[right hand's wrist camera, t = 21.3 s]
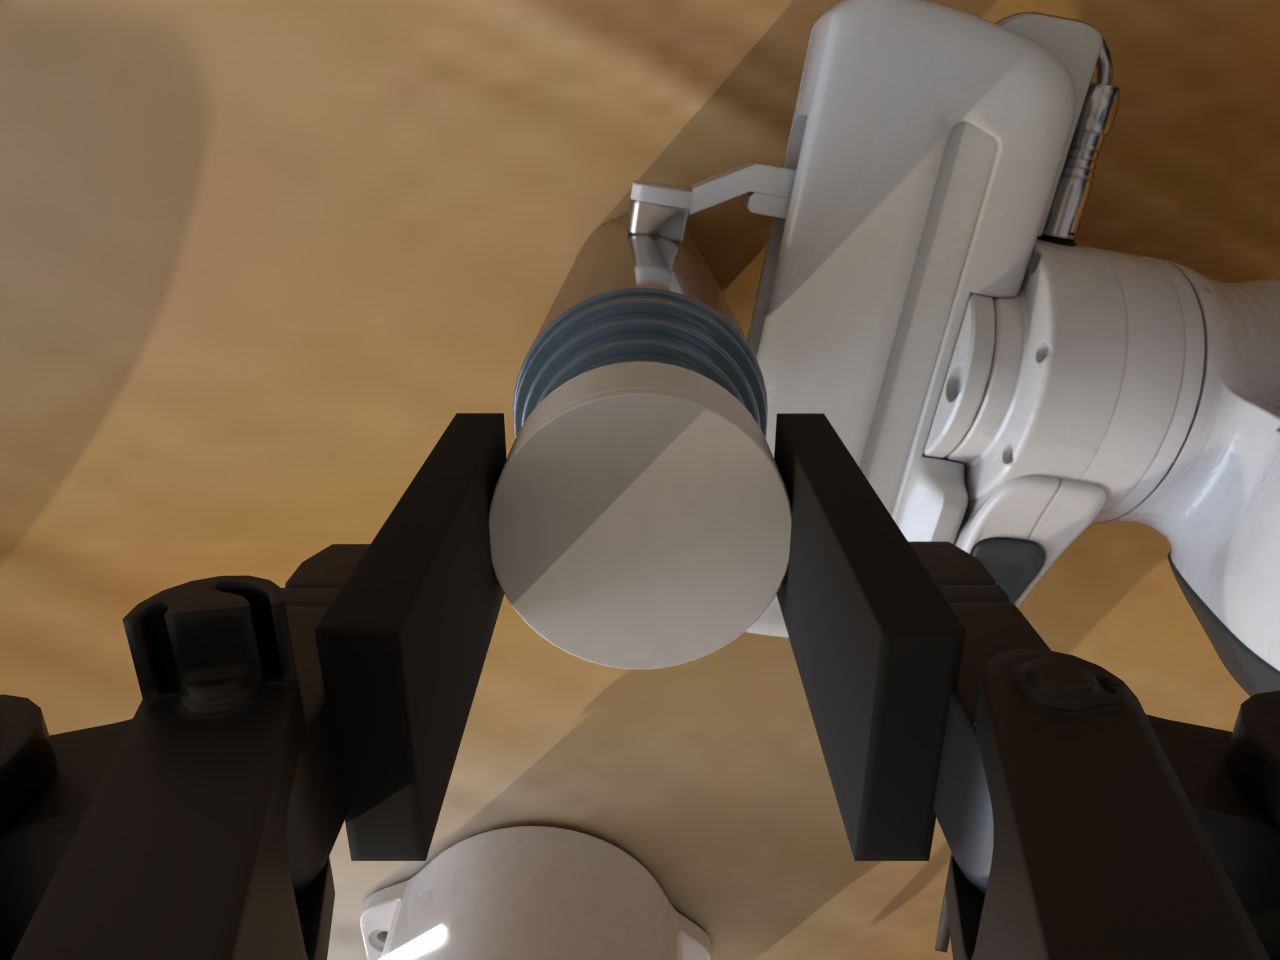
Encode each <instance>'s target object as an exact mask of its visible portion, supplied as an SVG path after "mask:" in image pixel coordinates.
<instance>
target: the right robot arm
mask: <svg viewBox="0 0 1280 960" xmlns="http://www.w3.org/2000/svg"><path fill="white" fill-rule="evenodd" d="M506 460H507V459H506V443H505V426H504V413H457V414H456V415H455V417H454V418H453V420H452V421H451V423H450V424H449V426H448V427H447V429H446V430H445V432H444V433H443V435H442V437H441V438H440V440H439V441H438V443H437V444H436V446H435V447H434V449H433V450H432V452H431V453H430V455H429V456H428V458H427V459H426V461H425V462H424V464H423V465H422V467H421V469H420V470H419V472H418V473H417V475H416V476H415V478H414V479H413V481H412V482H411V484H410V485H409V487H408V488H407V490H406V491H405V493H404V494H403V496H402V497H401V499H400V501H399V502H398V504H397V505H396V507H395V508H394V510H393V511H392V513H391V514H390V516H389V517H388V519H387V520H386V522H385V523H384V525H383V526H382V528H381V529H380V531H379V533H378V534H377V536H376V537H375V539H374V540H373V542H372V543H371V544H332V545H330V546H329V547H327V548H325V549H324V550H322V551H321V552H319V553H317V554H316V555H314V556H312V557H311V558H309V559H307V560H306V561H304V562H302V563H301V565H300V566H299V567H298V568H297V570H296V571H295V572H294V574H293V575H292V576H291V577H290V579H289V580H288V581H287V582H286V584H285V585H286V586H285V588H280V587H279V586H277V585H276V584H275V583H273V582H272V581H271V580H267V579H262V578H257V577H253V576H218V577H213V578H207V579H201V580H195V581H190V582H187V583H184V584H181V585H178V586H176V587H173V588H170V589H167V590H164V591H161V592H159V593H157V594H156V595H154V596H152V597H150V598H148V599H146V600H145V601H143V602H141V603H139V604H138V605H137V606H136V607H135V608H134V609H132V610H131V611H130V612H129V613H128V614H127V615H126V616H125V617H124V618H123V623H124V627H125V631H126V635H127V638H128V642H129V646H130V650H131V654H132V658H133V662H134V666H135V670H136V674H137V678H138V682H139V686H140V690H141V693H142V697H143V700H142V702H141V704H140V706H139V708H138V710H137V712H136V714H135V716H134V718H133V719H130V720H126V721H122V722H118V723H114V724H108V725H103V726H98V727H93V728H87V729H82V730H77V731H72V732H66V733H61V734H56V735H51V736H49V734H48V730H47V727H46V724H45V721H44V717H43V714H42V711H41V708H40V707H38V706H37V705H36V704H35V703H33V702H32V701H31V700H29V699H28V698H23V697H16V696H10V695H0V960H327V955H328V946H329V938H330V930H331V922H332V914H333V906H334V898H335V890H334V883H333V876H332V870H331V864H330V859H329V855H330V853H331V850H332V848H333V846H334V843H335V841H336V839H337V836H338V834H339V832H340V829H341V827H342V825H343V822H344V820H345V823H346V829H347V835H348V841H349V848H350V854H351V860H352V861H426V858H427V855H428V851H429V848H430V844H431V841H432V838H433V834H434V831H435V827H436V824H437V821H438V817H439V814H440V810H441V807H442V804H443V800H444V797H445V793H446V790H447V787H448V783H449V780H450V776H451V773H452V770H453V766H454V763H455V760H456V756H457V753H458V749H459V746H460V743H461V739H462V736H463V732H464V729H465V726H466V722H467V719H468V715H469V712H470V709H471V705H472V702H473V698H474V695H475V692H476V688H477V685H478V681H479V678H480V675H481V671H482V668H483V664H484V661H485V658H486V654H487V651H488V648H489V644H490V641H491V637H492V634H493V631H494V627H495V624H496V620H497V617H498V614H499V610H500V607H501V603H502V600H503V597H504V592H503V590H502V588H501V586H500V583H499V581H498V579H497V577H496V574H495V571H494V568H493V564H492V557H491V545H490V530H489V511H490V504H491V501H492V497H493V494H494V490H495V487H496V485H497V482H498V480H499V477H500V475H501V472H502V470H503V467H504V465H505V463H506ZM774 460H775V462H776V465H777V467H778V469H779V472H780V474H781V477H782V479H783V482H784V484H785V487H786V490H787V494H788V497H789V500H790V505H791V511H792V524H791V538H790V552H789V564H788V568H787V572H786V574H785V577H784V579H783V581H782V584H781V586H780V588H779V590H778V592H777V593H776V595H777V598H778V602H779V605H780V608H781V612H782V615H783V619H784V622H785V625H786V629H787V632H788V636H789V639H790V642H791V646H792V649H793V653H794V656H795V659H796V663H797V666H798V669H799V673H800V676H801V680H802V683H803V686H804V690H805V693H806V697H807V700H808V703H809V707H810V710H811V714H812V717H813V720H814V724H815V727H816V731H817V734H818V737H819V741H820V744H821V747H822V751H823V754H824V758H825V761H826V764H827V768H828V771H829V775H830V778H831V781H832V785H833V788H834V792H835V795H836V798H837V802H838V805H839V809H840V812H841V815H842V819H843V822H844V825H845V829H846V832H847V836H848V839H849V842H850V846H851V849H852V853H853V856H854V859H855V861H929V857H930V851H931V845H932V839H933V833H934V826H935V820H936V817H937V819H938V821H939V824H940V826H941V828H942V830H943V833H944V835H945V837H946V840H947V842H948V844H949V847H950V849H951V851H952V853H951V859H950V864H949V870H948V876H947V882H946V887H945V893H944V899H943V905H942V911H941V916H940V922H939V928H938V934H937V941H936V948H935V950H936V951H941V952H947V949H948V944H949V939H950V936H951V944H952V952H953V960H1280V691H1272V692H1266V693H1259V694H1254V695H1253V696H1251V697H1250V698H1249V699H1247V700H1246V701H1245V702H1244V703H1242V704H1241V707H1240V710H1239V713H1238V717H1237V720H1236V723H1235V726H1234V730H1233V732H1230V731H1225V730H1219V729H1214V728H1209V727H1203V726H1198V725H1193V724H1188V723H1182V722H1177V721H1172V720H1167V719H1162V718H1158V717H1154V716H1150V715H1146V714H1145V712H1144V710H1143V708H1142V706H1141V704H1140V702H1139V700H1138V698H1137V697H1136V696H1135V695H1134V693H1133V692H1132V691H1131V690H1130V689H1129V687H1128V686H1127V685H1126V684H1125V683H1124V681H1122V680H1121V679H1119V678H1118V677H1116V676H1114V675H1113V674H1111V673H1110V672H1108V671H1107V670H1105V669H1104V668H1102V667H1101V666H1098V665H1096V664H1093V663H1091V662H1088V661H1086V660H1083V659H1081V658H1078V657H1075V656H1073V655H1068V654H1063V653H1059V652H1054V651H1051V650H1050V648H1049V647H1048V646H1047V645H1046V643H1045V642H1044V641H1043V640H1042V638H1041V637H1040V636H1039V635H1038V633H1037V632H1036V631H1035V630H1034V628H1033V627H1032V626H1031V624H1030V623H1029V622H1028V621H1027V619H1026V618H1025V617H1024V616H1023V614H1022V613H1021V612H1020V611H1019V609H1018V608H1017V607H1016V606H1015V604H1014V603H1010V598H1009V597H1008V596H1007V594H1006V593H1005V592H1004V591H1003V589H1002V588H1001V587H1000V586H999V585H996V580H995V579H994V578H993V577H992V575H991V574H990V573H989V572H988V570H987V569H986V568H985V567H984V565H983V564H982V563H981V562H980V560H979V559H977V558H975V557H974V556H972V555H970V554H969V553H967V552H965V551H964V550H962V549H960V548H959V547H957V546H955V545H954V544H952V543H950V542H949V541H907V539H906V538H905V536H904V535H903V533H902V532H901V530H900V529H899V527H898V526H897V524H896V522H895V521H894V519H893V518H892V516H891V515H890V513H889V512H888V510H887V509H886V507H885V506H884V504H883V503H882V501H881V500H880V498H879V497H878V495H877V494H876V492H875V491H874V489H873V487H872V486H871V484H870V483H869V481H868V480H867V478H866V477H865V475H864V474H863V472H862V471H861V469H860V468H859V466H858V465H857V463H856V462H855V460H854V459H853V457H852V455H851V454H850V452H849V451H848V449H847V448H846V446H845V445H844V443H843V442H842V440H841V439H840V437H839V436H838V434H837V433H836V431H835V430H834V428H833V427H832V425H831V423H830V422H829V420H828V419H827V417H826V416H825V414H824V413H777V419H776V435H775V451H774Z"/></svg>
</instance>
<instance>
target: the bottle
mask: <svg viewBox="0 0 1280 960" xmlns="http://www.w3.org/2000/svg"><path fill="white" fill-rule="evenodd" d="M627 220H628V214H627V215H623V216H620V217H617V218H615V219H612V220H610V221H608V222H607V223H605V224H603V225H602V226H601V227H599V228H598V229H597V230H596V231H595V232H594V233H593V234H592V235H591V236H590V237H589V238H588V239H587V241H586V242H585V244H584V245H583V247H582V249H581V251H580V252H579V254H578V256H577V258H576V260H575V262H574V264H573V266H572V268H571V270H570V272H569V274H568V276H567V278H566V280H565V282H564V284H563V285H562V287H561V289H560V291H559V293H558V295H557V297H556V299H555V301H554V303H553V305H552V307H551V309H550V311H549V313H548V315H547V316H546V318H545V320H544V322H543V324H542V326H541V328H540V330H539V332H538V334H537V336H536V338H535V340H534V342H533V344H532V346H531V348H530V349H529V351H528V353H527V355H526V357H525V359H524V361H523V364H522V367H521V369H520V372H519V375H518V378H517V383H516V387H515V391H514V403H513V416H514V435H515V439H516V437H517V434H518V432H519V430H520V429H521V427H522V425H523V424H524V422H525V421H526V419H527V417H528V416H529V415H530V414H531V412H532V411H533V410H534V409H535V408H536V407H537V405H538V404H539V403H540V402H541V401H542V400H543V399H544V398H546V397H547V396H548V395H549V394H550V393H551V392H552V391H554V390H555V389H557V388H558V387H559V386H561V385H562V384H564V383H565V382H567V381H568V380H570V379H572V378H574V377H576V376H578V375H580V374H582V373H585V372H587V371H590V370H593V369H596V368H599V367H602V366H607V365H611V364H616V363H623V362H635V361H643V362H659V363H664V364H670V365H675V366H679V367H682V368H685V369H688V370H691V371H694V372H696V373H698V374H700V375H703V376H705V377H707V378H709V379H711V380H712V381H714V382H715V383H717V384H719V385H720V386H722V387H723V388H725V389H726V390H727V391H728V392H730V393H731V394H732V395H733V396H734V397H736V398H737V399H738V400H739V401H740V402H741V403H742V404H743V406H744V407H745V408H746V409H747V410H748V411H749V412H750V413H751V415H752V416H753V418H754V419H755V421H756V422H757V424H758V425H759V427H760V428H761V431H762V433H763V435H764V437H765V439H766V435H767V417H768V402H767V391H766V387H765V382H764V377H763V375H762V372H761V369H760V366H759V364H758V361H757V359H756V357H755V355H754V353H753V351H752V349H751V347H750V346H749V344H748V342H747V340H746V338H745V336H744V334H743V332H742V330H741V328H740V326H739V324H738V322H737V320H736V318H735V316H734V314H733V312H732V311H731V309H730V307H729V305H728V303H727V301H726V299H725V297H724V295H723V293H722V291H721V289H720V287H719V285H718V283H717V281H716V279H715V277H714V276H713V274H712V272H711V270H710V268H709V266H708V264H707V262H706V260H705V258H704V256H703V254H702V252H701V250H700V248H699V247H698V245H697V243H696V242H695V241H694V239H693V238H692V237H691V236H690V235H689V233H688V232H687V231H686V230H685V234H684V239H683V242H682V241H675V240H670V239H666V238H663V237H660V236H659V235H658V234H657V233H656V232H654V233H652V234H650V235H638V234H634V233H629V232H627V231H626V228H627Z"/></svg>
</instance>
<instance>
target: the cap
mask: <svg viewBox="0 0 1280 960" xmlns="http://www.w3.org/2000/svg"><path fill="white" fill-rule="evenodd" d="M791 524H792V511H791V505H790V500H789V497H788V494H787V490H786V487H785V484H784V482H783V479H782V477H781V474H780V472H779V469H778V467H777V465H776V462H775V460H774V457H773V455H772V453H771V450H770V448H769V445H768V443H767V441H766V439H765V437H764V435H763V433H762V431H761V428H760V427H759V425H758V424H757V422H756V421H755V419H754V418H753V416H752V415H751V413H750V412H749V411H748V410H747V409H746V408H745V407H744V406H743V404H742V403H741V402H740V401H739V400H738V399H737V398H736V397H734V396H733V395H732V394H731V393H730V392H728V391H727V390H726V389H725V388H723V387H722V386H720V385H719V384H717V383H715V382H714V381H712V380H711V379H709V378H707V377H705V376H703V375H700V374H698V373H696V372H694V371H691V370H688V369H685V368H682V367H679V366H675V365H670V364H664V363H659V362H643V361H635V362H623V363H616V364H611V365H607V366H602V367H599V368H596V369H593V370H590V371H587V372H585V373H582V374H580V375H578V376H576V377H574V378H572V379H570V380H568V381H567V382H565V383H564V384H562V385H561V386H559V387H558V388H557V389H555V390H554V391H552V392H551V393H550V394H549V395H548V396H547V397H546V398H544V399H543V400H542V401H541V402H540V403H539V404H538V405H537V407H536V408H535V409H534V410H533V411H532V412H531V414H530V415H529V416H528V417H527V419H526V421H525V422H524V424H523V425H522V427H521V429H520V430H519V432H518V434H517V437H516V439H515V441H514V443H513V446H512V448H511V450H510V453H509V455H508V458H507V460H506V463H505V465H504V467H503V470H502V472H501V475H500V477H499V480H498V482H497V485H496V487H495V490H494V494H493V497H492V501H491V504H490V511H489V530H490V545H491V557H492V564H493V568H494V571H495V574H496V577H497V579H498V581H499V583H500V586H501V588H502V590H503V592H504V594H505V595H506V597H507V598H508V600H509V602H510V603H511V605H512V606H513V608H514V609H515V610H516V611H517V613H518V614H519V615H520V616H521V617H522V618H523V620H524V621H525V622H526V623H527V624H528V625H529V626H530V627H531V628H533V629H534V630H535V631H536V632H537V633H538V634H539V635H540V636H542V637H543V638H545V639H546V640H548V641H549V642H550V643H552V644H553V645H555V646H557V647H558V648H560V649H562V650H564V651H566V652H568V653H570V654H572V655H574V656H577V657H579V658H582V659H584V660H587V661H590V662H594V663H597V664H601V665H605V666H610V667H617V668H623V669H656V668H665V667H670V666H676V665H681V664H684V663H687V662H691V661H694V660H697V659H700V658H702V657H704V656H707V655H709V654H711V653H714V652H716V651H717V650H719V649H721V648H722V647H724V646H726V645H728V644H729V643H731V642H732V641H734V640H735V639H736V638H738V637H739V636H740V635H742V634H743V633H744V632H745V631H747V630H748V629H749V628H750V627H751V626H752V625H753V624H754V623H755V622H756V621H757V620H758V619H759V618H760V616H761V615H762V614H763V613H764V611H765V610H766V609H767V608H768V606H769V605H770V603H771V602H772V600H773V598H774V597H775V595H776V593H777V592H778V590H779V588H780V586H781V584H782V581H783V579H784V577H785V574H786V572H787V568H788V564H789V552H790V538H791Z"/></svg>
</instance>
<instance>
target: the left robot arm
mask: <svg viewBox="0 0 1280 960" xmlns="http://www.w3.org/2000/svg"><path fill="white" fill-rule="evenodd" d="M1095 66H1097V83H1090V82H1091V79H1092V76H1093V73H1094V69H1095ZM1112 77H1113V64H1112V58H1111V54H1110V51H1109V48H1108V46H1107V44H1106V42H1105V40H1104V39H1103V38H1102V36H1101V34H1100V33H1099V32H1098V31H1097V30H1096V29H1094V28H1093V27H1091V26H1090V25H1088V24H1086V23H1084V22H1082V21H1079V20H1075V19H1070V18H1064V17H1059V16H1053V15H1048V14H1043V13H1037V12H1022V13H1017V14H1013V15H1010V16H1008V17H1005V18H1003V19H1001V20H1000V21H998V22H996V23H993V22H991V21H988V20H985V19H982V18H980V17H977V16H974V15H972V14H969V13H966V12H963V11H960V10H957V9H954V8H951V7H948V6H945V5H942V4H938V3H935V2H931V1H928V0H841V1H840V2H838V3H837V4H836V5H834V6H833V7H832V8H831V9H829V10H828V11H827V12H826V13H825V14H824V15H822V16H821V17H820V18H819V19H818V20H817V21H816V23H815V24H814V26H813V28H812V31H811V35H810V39H809V44H808V48H807V53H806V58H805V63H804V68H803V73H802V77H801V82H800V87H799V92H798V97H797V102H796V107H795V111H794V116H793V121H792V126H791V131H790V136H789V141H788V145H787V150H786V155H785V160H784V165H783V167H778V166H772V165H766V164H760V163H753V162H746V163H743V164H741V165H738V166H736V167H733V168H731V169H728V170H726V171H723V172H721V173H718V174H716V175H713V176H711V177H708V178H706V179H704V180H701V181H699V182H696V183H694V184H691V185H690V188H689V189H687V188H681V187H675V186H669V185H663V184H657V183H651V182H643V181H633V186H632V192H631V199H630V205H629V213H628V220H627V228H626V231H627V232H629V233H634V234H638V235H650V234H652V233H654V232H656V233H657V234H658V235H659V236H660V237H663V238H666V239H670V240H675V241H682V242H683V239H684V234H685V229H686V224H687V219H688V213H689V215H691V214H694V213H696V212H699V211H701V210H704V209H707V208H709V207H712V206H714V205H717V204H720V203H722V202H725V201H727V200H730V199H732V198H735V197H738V196H740V195H742V200H741V204H742V205H743V207H744V208H745V209H747V210H748V211H750V212H751V213H756V214H762V215H767V216H773V218H772V223H771V228H770V233H769V238H768V242H767V247H766V252H765V257H764V262H763V267H762V272H761V276H760V281H759V286H758V291H757V296H756V301H755V305H754V310H753V315H752V320H751V325H750V330H749V335H748V339H747V342H748V344H749V346H750V347H751V349H752V351H753V353H754V355H755V357H756V359H757V361H758V364H759V366H760V369H761V372H762V375H763V377H764V382H765V387H766V391H767V402H768V417H767V435H766V441H767V443H768V445H769V448H770V450H771V453H772V455H773V457H774V451H775V435H776V419H777V413H824V414H825V416H826V417H827V419H828V420H829V422H830V423H831V425H832V427H833V428H834V430H835V431H836V433H837V434H838V436H839V437H840V439H841V440H842V442H843V443H844V445H845V446H846V448H847V449H848V451H849V452H850V454H851V455H852V457H853V459H854V460H855V462H856V463H857V465H858V466H859V468H860V469H861V471H862V472H863V474H864V475H865V477H866V478H867V480H868V481H869V483H870V484H871V486H872V487H873V489H874V491H875V492H876V494H877V495H878V497H879V498H880V500H881V501H882V503H883V504H884V506H885V507H886V509H887V510H888V512H889V513H890V515H891V516H892V518H893V519H894V521H895V522H896V524H897V526H898V527H899V529H900V530H901V532H902V533H903V535H904V536H905V538H906V539H907V541H949V542H950V543H952V544H954V545H955V546H957V547H959V548H960V549H962V550H964V551H965V552H967V553H969V554H970V555H972V556H974V557H975V558H977V559H979V560H980V562H981V563H982V564H983V565H984V567H985V568H986V569H987V570H988V572H989V573H990V574H991V575H992V577H993V578H994V579H995V580H996V585H999V586H1000V587H1001V588H1002V589H1003V591H1004V592H1005V593H1006V594H1007V596H1008V597H1009V598H1010V603H1014V604H1015V606H1016V607H1017V608H1018V607H1019V606H1020V604H1021V603H1022V602H1023V600H1024V599H1025V598H1026V596H1027V595H1028V594H1029V593H1030V591H1031V590H1032V589H1033V588H1034V586H1035V585H1036V584H1037V583H1038V581H1039V580H1040V579H1041V578H1042V576H1043V575H1044V574H1045V573H1046V572H1047V570H1048V569H1049V568H1050V567H1051V566H1052V564H1053V563H1054V562H1055V561H1056V560H1057V559H1058V558H1059V556H1060V555H1061V554H1062V553H1063V552H1064V551H1065V550H1066V549H1067V548H1068V547H1069V545H1070V544H1071V543H1072V542H1073V541H1074V540H1075V539H1076V538H1077V537H1078V536H1079V535H1080V534H1081V533H1082V532H1083V531H1084V530H1085V529H1086V528H1087V527H1088V526H1089V525H1090V524H1091V523H1108V522H1135V523H1140V524H1144V525H1146V526H1149V527H1151V528H1153V529H1155V530H1156V531H1158V532H1160V533H1161V534H1163V535H1164V536H1165V537H1166V538H1167V539H1168V541H1169V542H1170V544H1171V548H1172V551H1171V552H1169V554H1168V560H1169V563H1170V565H1171V568H1172V571H1173V573H1174V576H1175V578H1176V580H1177V582H1178V584H1179V586H1180V588H1181V590H1182V592H1183V594H1184V595H1185V597H1186V599H1187V601H1188V603H1189V605H1190V606H1191V608H1192V610H1193V611H1194V613H1195V615H1196V617H1197V618H1198V620H1199V622H1200V624H1201V625H1202V627H1203V629H1204V631H1205V632H1206V634H1207V636H1208V638H1209V639H1210V641H1211V643H1212V645H1213V646H1214V648H1215V650H1216V652H1217V654H1218V656H1219V658H1220V659H1221V661H1222V662H1223V664H1224V666H1225V667H1226V668H1227V670H1228V671H1229V673H1230V674H1231V675H1232V677H1233V678H1234V679H1235V680H1236V681H1237V683H1238V684H1239V685H1240V686H1241V687H1242V688H1243V689H1244V690H1245V691H1246V692H1247V694H1248V695H1249V696H1250V697H1251V696H1253V695H1254V694H1259V693H1266V692H1272V691H1280V280H1274V279H1273V280H1256V281H1249V282H1242V283H1223V282H1218V281H1215V280H1212V279H1209V278H1207V277H1205V276H1203V275H1202V274H1200V273H1198V272H1196V271H1195V270H1192V269H1190V268H1188V267H1186V266H1183V265H1181V264H1178V263H1176V262H1172V261H1169V260H1164V259H1158V258H1152V257H1146V256H1140V255H1134V254H1128V253H1122V252H1116V251H1110V250H1104V249H1098V248H1093V247H1086V246H1081V245H1076V244H1077V243H1074V241H1075V237H1076V234H1077V232H1078V229H1079V226H1080V222H1081V219H1082V216H1083V213H1084V210H1085V207H1086V204H1087V201H1088V198H1089V195H1090V191H1091V187H1092V184H1093V182H1092V179H1094V174H1095V172H1094V170H1095V169H1096V164H1097V162H1096V160H1098V157H1099V154H1100V153H1099V151H1100V150H1101V148H1102V145H1103V142H1104V139H1105V136H1108V134H1109V132H1110V130H1111V128H1112V125H1113V123H1114V120H1115V117H1116V114H1117V110H1118V105H1119V100H1120V88H1119V87H1117V86H1114V85H1111V83H1112ZM1038 235H1040V236H1041V237H1040V236H1038ZM1037 236H1038V237H1037ZM745 632H748V633H754V634H761V635H769V636H777V637H786V638H789V636H788V632H787V629H786V625H785V622H784V619H783V615H782V612H781V608H780V605H779V602H778V598H777V595H775V597H774V598H773V600H772V602H771V603H770V605H769V606H768V608H767V609H766V610H765V611H764V613H763V614H762V615H761V616H760V618H759V619H758V620H757V621H756V622H755V623H754V624H753V625H752V626H751V627H750V628H749V629H748V630H747V631H745ZM360 926H361V931H362V936H363V940H364V945H365V949H366V954H367V959H368V960H711V947H712V943H711V939H710V937H709V936H708V935H707V933H706V932H705V931H703V930H702V929H701V928H700V927H699V926H697V925H696V924H695V923H693V922H692V921H690V920H689V919H687V918H686V917H684V916H683V915H681V914H680V913H678V912H677V911H676V910H675V909H674V908H673V906H672V905H671V903H670V902H669V901H668V899H667V897H666V895H665V894H664V892H663V890H662V889H661V887H660V885H659V884H658V883H657V881H656V880H655V878H654V877H653V876H652V875H651V874H650V872H649V871H648V870H647V869H646V868H645V867H644V866H643V865H641V864H640V863H639V862H638V861H637V860H636V859H634V858H633V857H632V856H630V855H629V854H627V853H626V852H624V851H623V850H621V849H619V848H618V847H616V846H614V845H612V844H610V843H608V842H606V841H604V840H601V839H599V838H596V837H594V836H591V835H588V834H585V833H581V832H577V831H573V830H568V829H563V828H556V827H547V826H518V827H509V828H502V829H497V830H492V831H488V832H484V833H481V834H478V835H475V836H472V837H470V838H467V839H465V840H463V841H461V842H459V843H457V844H455V845H453V846H451V847H450V848H448V849H446V850H445V851H444V852H442V853H441V854H439V855H438V856H437V857H436V858H434V859H433V860H432V861H431V862H430V863H429V864H428V865H427V866H426V867H425V868H423V869H422V870H421V871H420V872H419V873H418V874H417V875H415V876H414V877H412V878H411V879H409V880H407V881H404V882H401V883H398V884H395V885H393V886H390V887H387V888H384V889H382V890H380V891H377V892H375V893H373V894H372V895H370V896H369V897H368V898H367V899H366V900H365V902H364V904H363V909H362V913H361V918H360Z"/></svg>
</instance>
